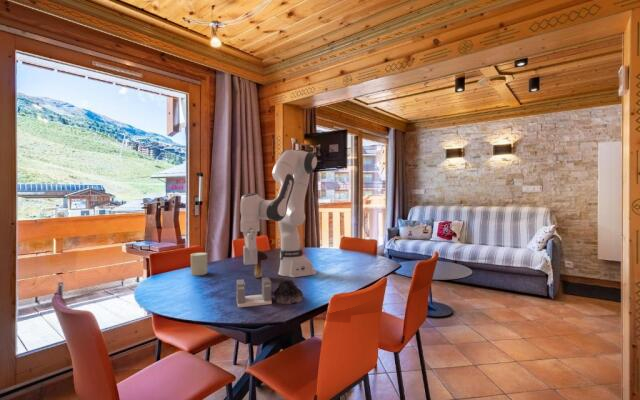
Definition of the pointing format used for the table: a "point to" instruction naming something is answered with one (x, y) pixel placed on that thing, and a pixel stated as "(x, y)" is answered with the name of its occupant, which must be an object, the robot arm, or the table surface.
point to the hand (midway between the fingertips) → (250, 256)
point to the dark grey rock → (288, 293)
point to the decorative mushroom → (259, 264)
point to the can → (198, 264)
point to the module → (246, 256)
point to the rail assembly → (254, 299)
